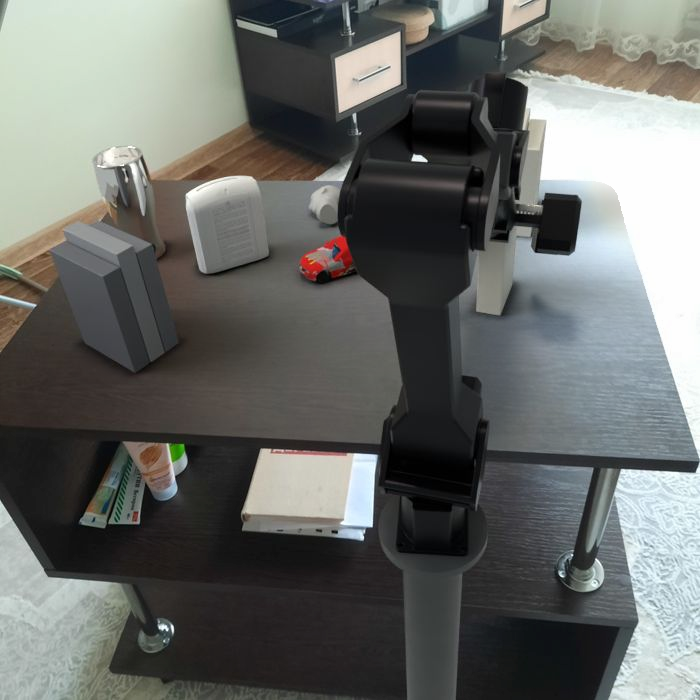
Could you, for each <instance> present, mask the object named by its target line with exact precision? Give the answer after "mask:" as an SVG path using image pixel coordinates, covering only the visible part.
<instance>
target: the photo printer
mask: <svg viewBox="0 0 700 700" xmlns="http://www.w3.org/2000/svg"><path fill="white" fill-rule="evenodd" d="M263 207H264V206H263V200H262V194H261V189H260V187H259V185H258V182H257V180H256V179H255V178H254V177H253V176H249V175H230V176H225V177H220V178H216V179H213V180H210V181H207V182H205V183H203V184H200V185H198V186H196V187H194V188H193V189H191V190H190V191H188V192H187V193H185V210H186V214H187V219H188V224H189V229H190V233H191V238H192V243H193V247H194V251H195V256H196V260H197V261H196V262H197V266H198V270H199V271H200V272H201V273H203V274H206V275H210V274H215V273H219V272H222V271H225V270H229V269H233V268H235V267H239V266H243V265H246V264H249V263H253V262H256V261H259V260H262V259H265V258H267V257H268V256H269V255H270V250H269V249H270V248H269V243H268V236H267V229H266V221H265V213H264V208H263Z"/></svg>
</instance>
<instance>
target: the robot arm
mask: <svg viewBox="0 0 700 700" xmlns="http://www.w3.org/2000/svg"><path fill="white" fill-rule="evenodd" d="M507 75H508V74H507V72H505V71H485V73H484V76H483V77H479V78H477V79H475V80H473V81H472V82H470V84H468V91H451V90H427V89H419V90H418V91H417V92H416V93H408V94H407V95H406V98H405V99H404V102H403V104H402V107H401V108H400V109H401V110H400V112H399V114H398V115H397V116H395V117H394V118H392V119H391V120H389V121H388V122H386V123H385V124H384V125H382V126H381V127H380V128H378V129H376V130H375V131H374V132H372V133H371V134H370V135H368V136H367V137H365V138H364V139H362V140H361V141H360V143H359V144H358V147H357V149H356V151H355V154H354V156H353V158H352V161H351V163H350V165H349V168H348V170H347V172H346V175H345V177H344V179H343V181H342V184H341V187H340V189H339V190H340V194H339V201H338V215H337V217H338V222H337V227H338V231H339V233H340V236H343V237H346V242H347V246H348V249H349V252H350V255H351V257H352V260H353V263H354V266H355V269H356V273H357V274H358V276H359V277H361V278H362V279H363V280H364V281H365V282H367V283H368V284H370V285H371V286H372V287H373V288H375V290H377V292H380V293H381V294H382V295H383V296H384V297H386V298H387V300H388V305H389V312H390V317H391V323H392V330H393V336H394V342H395V348H396V353H397V354H396V355H397V359H398V366H399V371H400V378H401V384H402V385H401V388H400V391H399V395H398V398H397V402H396V404H393V405H392V407H391V409H390V413H389V414H388V417H386V418H384V420H383V424H382V431H381V438H380V446H379V454H378V476H379V478H378V483H377V484H378V485H377V486H378V489H379V491H380V494H383V495H387V494H388V495H393V496H394V495H399V496H400V501H399V513H398V525H397V537H396V550H397V551H398V552H399V553H411V554H427V555H443V556H460V557H464V556H467V555H468V509H470V510H471V511H476V510H477V505H478V504H479V499H480V495H481V489H482V486H483V481H484V476H485V470H486V460H487V452H488V444H489V443H488V442H489V435H490V434H489V433H490V424H491V421H490V419H487V418H484V403H483V397H482V395H483V393H482V392H483V391H482V390H483V384H482V381H481V380H480V378H479V377H477V376H470V375H465V374H463V368H462V367H463V365H462V363H463V361H462V341H461V340H462V338H461V336H462V335H461V315H460V314H461V311H460V295H461V294H462V293H464V292H465V291H466V290H467V289H468V288H470V287H471V286H472V285H471V284H472V280H473V276H474V272H475V266H476V263H477V257H478V255H479V251H486V250H487V247H488V244H489V241H492V242H502V243H508V242H509V236H510V232H511V230H512V229H513V227H514V226H522V227H532V234H531V242H530V248H531V249H532V251H533V252H534V253H535V254H542V255H543V254H544V255H553V256H568V257H569V256H571V255H572V254H573V253H575V252H576V247H577V241H578V234H579V228H580V227H579V226H580V219H581V212H582V205H583V201H582V199H581V198H580V197H579V195H578V194H568V193H553V192H544V196H543V199H542V200H541V202H540V205H539V204H537V205H528V204H516V202H515V200H520V193H521V178H522V173H523V169H524V164H525V159H526V154H527V147H528V141H529V133H530V130H523V123H524V116H525V109H526V108H527V101H528V97H529V96H528V94H529V87H528V85H526V84H524V83H523V82H521V81H519V80H517V79H514V78H511V77H507ZM414 156H421V157H422V158H423V159H425V160H426V161H418V160H413V158H414ZM518 211H519V213H517V212H518ZM521 211H522V213H523V214H522V213H521ZM525 212H526V214H524V213H525ZM529 212H530V214H528V213H529ZM532 212H533V213H534V214H532ZM400 546H403V548H400ZM460 550H465V551H464V552H462V551H460Z"/></svg>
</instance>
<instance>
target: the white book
mask: <svg viewBox="0 0 700 700" xmlns="http://www.w3.org/2000/svg"><path fill="white" fill-rule="evenodd" d="M515 202H516V204H519V200H515ZM517 213H518V212H517ZM516 233H517V226H514V227H513V229H512V230H511V232H510V236H509V242H508V243H502V242H492V241H489V244H488V247H487V250H486V251H478V260H477V262H478V263H477V286H476V287H477V288H476V307H475V308H476V309H475V310H476V312H477V313H482V314H488V315H493V316H499V317H500V316H501V315H502V313H503V310H504V307H505V305H506V302H507V300H508V297H509V294H510V293H511V289H512V288H513V287H512V286H513V285H514V284H513V282H514V270H515V257H516V247H517V246H516V245H517V236H516Z"/></svg>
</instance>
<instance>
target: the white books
mask: <svg viewBox="0 0 700 700" xmlns="http://www.w3.org/2000/svg"><path fill="white" fill-rule="evenodd" d="M531 110H532V108H530V107H526V109H525V116H524V123H523V130H530V133H529V141H528V147H527V154H526V159H525V164H524V169H523V173H522V178H521V193H520V200H519V204H528V205H539V193H540V185H541V175H542V165H543V156H544V147H545V138H546V128H547V119H537V118H531ZM518 213H519V211H518ZM521 213H522V211H521ZM522 214H523V213H522ZM524 214H526V212H525V213H524ZM528 214H530V212H529V213H528ZM532 214H534V213H533V212H532ZM532 233H533V227H522V226H517V233H516V237H522V238H523V237H524V238H532Z"/></svg>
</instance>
